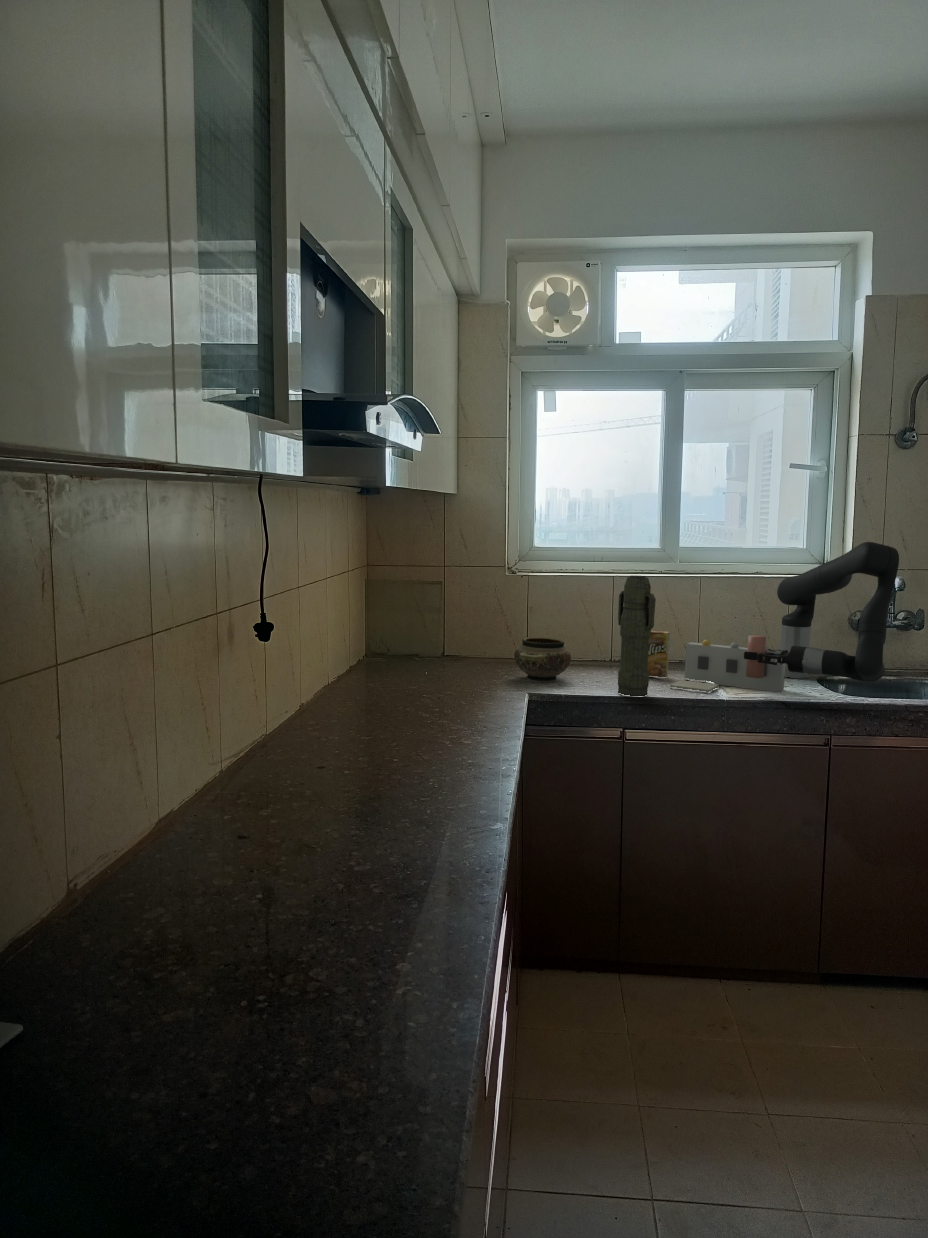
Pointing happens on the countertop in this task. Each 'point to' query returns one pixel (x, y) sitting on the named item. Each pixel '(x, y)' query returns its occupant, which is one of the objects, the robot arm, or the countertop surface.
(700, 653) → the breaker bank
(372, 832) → the countertop surface
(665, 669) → the candy box
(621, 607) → the thermos
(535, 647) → the ceramic bowl
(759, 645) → the pink cylinder
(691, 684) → the pad
